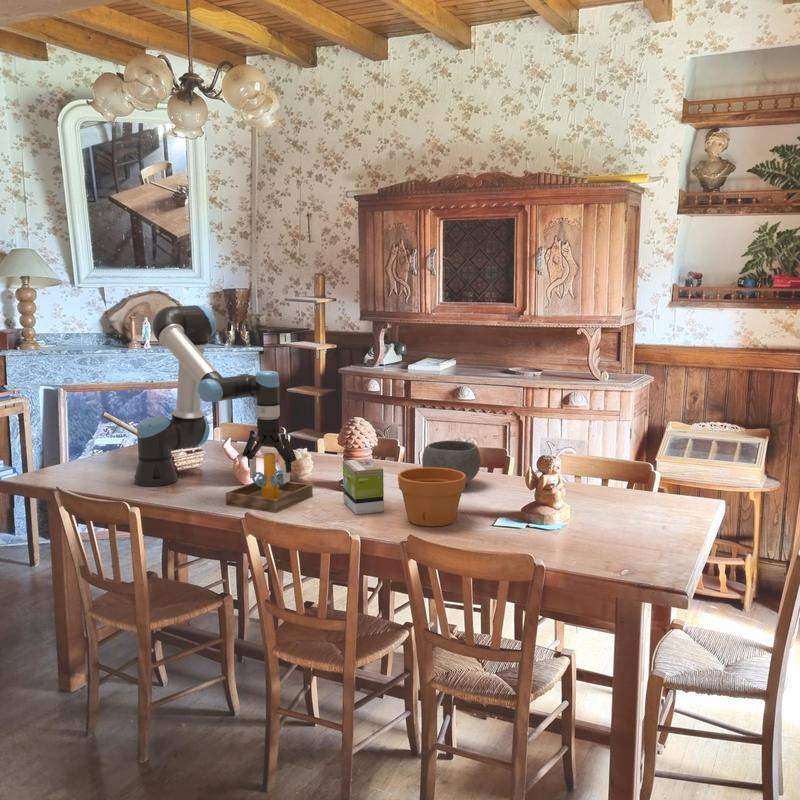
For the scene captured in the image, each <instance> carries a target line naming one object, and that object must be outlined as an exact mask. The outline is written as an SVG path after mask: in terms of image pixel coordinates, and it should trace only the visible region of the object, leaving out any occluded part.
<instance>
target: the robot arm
mask: <svg viewBox="0 0 800 800" xmlns="http://www.w3.org/2000/svg"><path fill="white" fill-rule="evenodd" d="M216 331H217V321H216V318H215V316H214V314H213V311H212V310H211V309H210V308H209V307H207V306H205V305H198V304H197V305H196V304H193V305H179V306H178V305H177V306H176V305H175V306H174V305H171V306H166V307H163V308H162V309H160V310H159V311H158V312H157V313H156V315H155V316H154V319H153V320H152V332H153V333H152V334H153V335H154V337H155V340H156V341H158V343H159V344H160V345H161V347H164V348H167V349H168V350H169V351H170V352H171V354H172V355H173V356H174V357H175V358H176V359H177V361H178V372H177V389H176V390H177V391H176V392H177V393H176V395H177V396H176V408H175V409H174V410H173V411H171V418H170V417H168V416H165V415H163V416H162V415H160V416H159V415H158V416H152V417H148V418H144V419H142V420H141V421H139V422H138V424H137V427H136V429H137V430H136V437H137V453H138V456H137V457H138V462H137V463H138V464H137V467H136V471H135V474H134V477H133V478H134V480H133V481H134V485H137V486H141V487H161V486H167V485H171V484H175V483H176V482H177V481H178V474H177V472H176V469H175V465H174V464H173V460H172V452H174V451H178V450H179V451H180V450H186V449H194V448H197V447H199V446H200V447H201V446H203V445H204V444H205V443H206V442H207V440H208V438H209V435H210V429H211V428H210V424H209V420H208V418H207V417H206V416H205V413H204V411H202V410H201V400H202V401H203V402H205V403H210V402H211V403H217V402H222V401H229V400H237V399H246V398H253V399H256V416H257V417H258V418H257V419H256V423H257V424H256V426H257V427H256V429H253V430H250V431H249V437H248V440H247V442H246V445H245V447H244V449H243V452H242V457H246V458H247V467H248V468H249V478H250V479H252V476H253V474H254V473H256V472H257V457H256V455H257V454H258V452H259V451H260V450H261V448H262V446H269V447H270V446H271V447H273V448H274V449H275V450H276V451H277V453H278V454H279V456H280V457H281V459H282V460H283V463H282V472H283V479H282V481H283V483H286V482H291V479H290V478H291V476H290V475H291V473H292V463H294V462H295V461H297V460H298V459H297V457H296V454H295V452H294V449H293V446H292V445H291V442H290V440H289V433H288V432H283V433H280V429H281V420H280V419H281V418H280V417H281V414H280V413H281V411H280V410H281V409H280V407H281V406H280V385H281V384H280V379H279V378H280V375H279V373H278V372H277V371H276V370H260V371H257V372H256V374H255V375H253V374H249V373H240V374H237V375H236V376H235V375H234V376H225V377H223V376H222V375H221V374H220V372H218V370H216V368H215V367H214V366H213V364H211V363H210V361H209V360H208V358H206V357H205V355H204V350H205V349H204V348H205V347H206V346H208V345H209V338H211V337H213V336H214V334H216ZM257 437H258V440H257ZM256 440H257V441H256ZM255 478H257V475H256V476H255Z"/></svg>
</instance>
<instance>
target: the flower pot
mask: <svg viewBox="0 0 800 800" xmlns="http://www.w3.org/2000/svg"><path fill="white" fill-rule="evenodd" d="M397 481H398V489H399V490H400V491H401V494H402V498H403V504H404V508H405V511H406V516H407V518H408V521H409V522H410V523H412V524H413V525H417V526H422V527H432V528H433V527H434V528H435V527H444V526H448V525H451V524H453V523H454V522H455V520H456V517H457V513H458V509H459V506H460V500H461V497H462V494H463V492H464V491H465V489H466V484H465V482H466V475H465V474H464V473H463V472H461V471H458V470H454V469H448V468H437V467H424V468H423V467H414V468H409V469H404V470H402V471H400V472H399V473H398V474H397Z"/></svg>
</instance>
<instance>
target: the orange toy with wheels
mask: <svg viewBox="0 0 800 800" xmlns="http://www.w3.org/2000/svg"><path fill="white" fill-rule="evenodd" d="M276 459H277V455H276V453H275V452H264V453H263V473H262V472H261V471H256V473H254V474H253V476H252V478H251V479H252V483H255V484H257V486H259V487H261V496H262V497H264V498H271V499H276V498H279V484H280V485H284V484H286V483H287V482H286V483H281V481H283V470H281V469H279V470H277V460H276ZM255 476H256V477H255ZM279 477H280V479H279ZM260 478H262V479H261V480H262V481H261V482H258V481H259V480H260ZM260 484H261V485H260Z"/></svg>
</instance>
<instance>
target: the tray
mask: <svg viewBox="0 0 800 800" xmlns="http://www.w3.org/2000/svg"><path fill="white" fill-rule="evenodd" d="M261 481H262V479H259V480H258V482H261ZM281 483H283V480H282V481H281ZM260 485H261V484H260ZM313 487H314V486H313V484H309V483H308V484H307V483H301V482H293V481H289V482H287V483H286V484H284V485H280V484H279V498H276V499H271V498H264V497H262V496H261V487H259V486H257V484H255V483H254V482H251V483H249V484H247V485H246V484H245V485H243V486H240V487H238V488H235V489H233V490H231V491H228V492H225V505H226V506H233V507H238V508H244V509H245V508H246V509H253V510H259V511H264V512H270V513H278V512H280V511H283V510H284V509H287V508H289V507H291V506H293V505H296V504H298V503H300V502H303V501H305V500H307V499H310V498H312V497H314V494H313V492H314V491H313V490H314V489H313Z"/></svg>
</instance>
